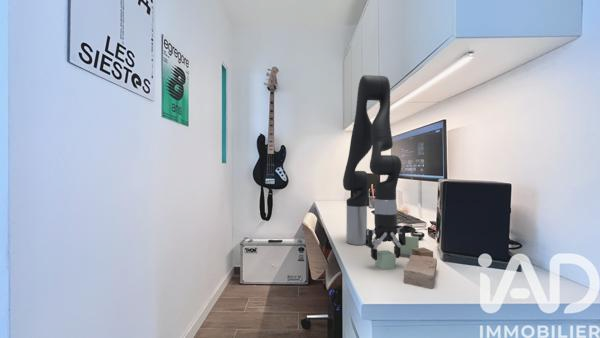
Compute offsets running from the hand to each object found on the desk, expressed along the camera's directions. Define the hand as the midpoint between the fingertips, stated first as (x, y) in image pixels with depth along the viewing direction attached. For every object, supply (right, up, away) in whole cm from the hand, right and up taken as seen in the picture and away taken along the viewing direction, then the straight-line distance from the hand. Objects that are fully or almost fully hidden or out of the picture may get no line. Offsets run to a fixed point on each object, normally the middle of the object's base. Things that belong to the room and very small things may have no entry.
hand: (385, 258), depth 93 cm
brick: (+9, -4, -8) cm, 12 cm away
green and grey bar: (+13, -3, +12) cm, 17 cm away
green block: (0, -3, 0) cm, 3 cm away
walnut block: (+14, -3, +4) cm, 15 cm away
